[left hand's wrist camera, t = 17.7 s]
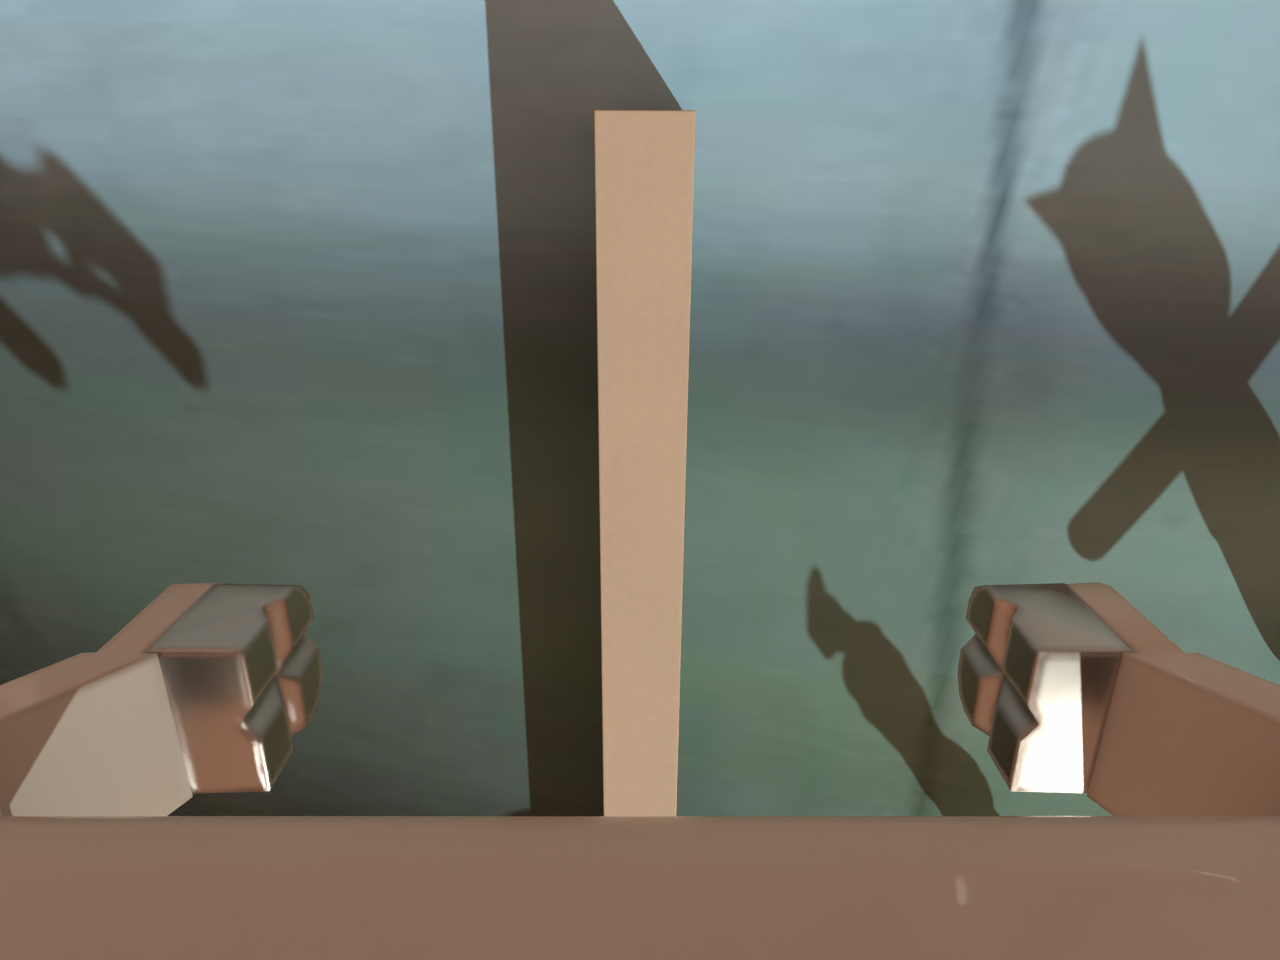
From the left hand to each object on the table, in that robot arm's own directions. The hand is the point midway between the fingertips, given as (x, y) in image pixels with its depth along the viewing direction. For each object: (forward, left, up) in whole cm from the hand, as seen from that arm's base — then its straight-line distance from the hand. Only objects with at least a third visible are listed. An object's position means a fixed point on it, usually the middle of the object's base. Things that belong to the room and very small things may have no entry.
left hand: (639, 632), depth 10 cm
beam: (+26, 0, -40) cm, 48 cm away
